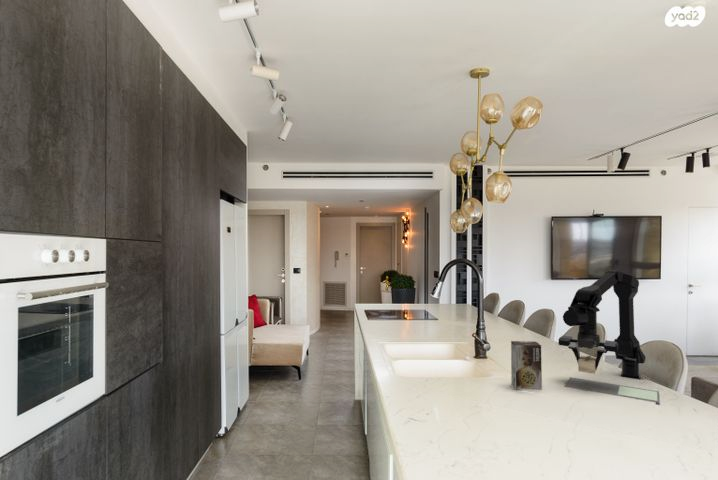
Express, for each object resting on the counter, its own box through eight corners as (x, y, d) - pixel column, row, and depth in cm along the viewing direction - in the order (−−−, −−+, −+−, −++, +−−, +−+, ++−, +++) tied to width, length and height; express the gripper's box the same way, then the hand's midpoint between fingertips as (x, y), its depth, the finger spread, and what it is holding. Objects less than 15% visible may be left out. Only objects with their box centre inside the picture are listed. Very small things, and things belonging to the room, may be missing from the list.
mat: (570, 378, 163) (570, 376, 163) (658, 393, 147) (658, 391, 147) (563, 388, 152) (563, 386, 152) (659, 404, 136) (659, 402, 136)
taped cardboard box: (581, 365, 159) (581, 354, 159) (597, 368, 156) (597, 356, 156) (578, 371, 151) (578, 359, 152) (594, 373, 149) (594, 361, 149)
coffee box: (536, 385, 154) (536, 341, 155) (542, 391, 148) (542, 345, 148) (510, 384, 155) (510, 340, 156) (515, 390, 149) (515, 344, 149)
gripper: (555, 324, 153) (555, 367, 152) (615, 330, 142) (616, 377, 142) (561, 320, 162) (561, 361, 162) (618, 325, 151) (618, 369, 151)
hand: (587, 367), depth 154 cm, fingers closed on taped cardboard box, 5 cm apart
